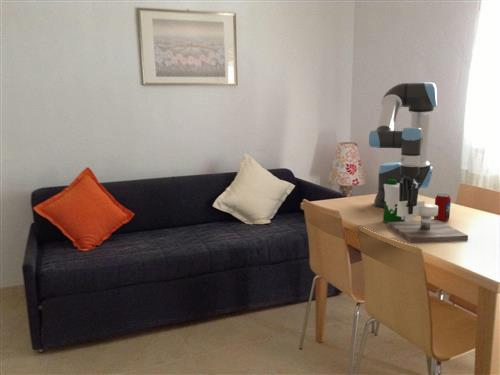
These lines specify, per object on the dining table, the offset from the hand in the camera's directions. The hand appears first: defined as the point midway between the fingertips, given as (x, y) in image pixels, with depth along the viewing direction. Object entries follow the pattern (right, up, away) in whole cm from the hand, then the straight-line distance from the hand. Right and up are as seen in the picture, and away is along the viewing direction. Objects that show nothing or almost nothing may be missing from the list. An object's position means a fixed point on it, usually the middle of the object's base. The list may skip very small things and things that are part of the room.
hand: (406, 220), depth 186 cm
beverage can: (+25, -2, +23) cm, 34 cm away
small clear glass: (+9, -4, +3) cm, 10 cm away
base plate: (+9, -6, +3) cm, 11 cm away
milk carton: (+1, -3, +20) cm, 20 cm away
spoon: (+5, +2, +1) cm, 5 cm away
